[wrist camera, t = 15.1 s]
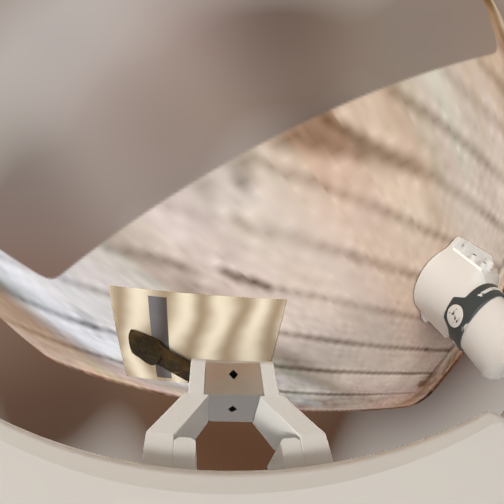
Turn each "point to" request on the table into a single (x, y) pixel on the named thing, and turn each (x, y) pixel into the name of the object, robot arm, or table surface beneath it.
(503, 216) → the table surface
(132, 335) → the hand tool
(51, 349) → the table surface
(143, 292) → the sheet
